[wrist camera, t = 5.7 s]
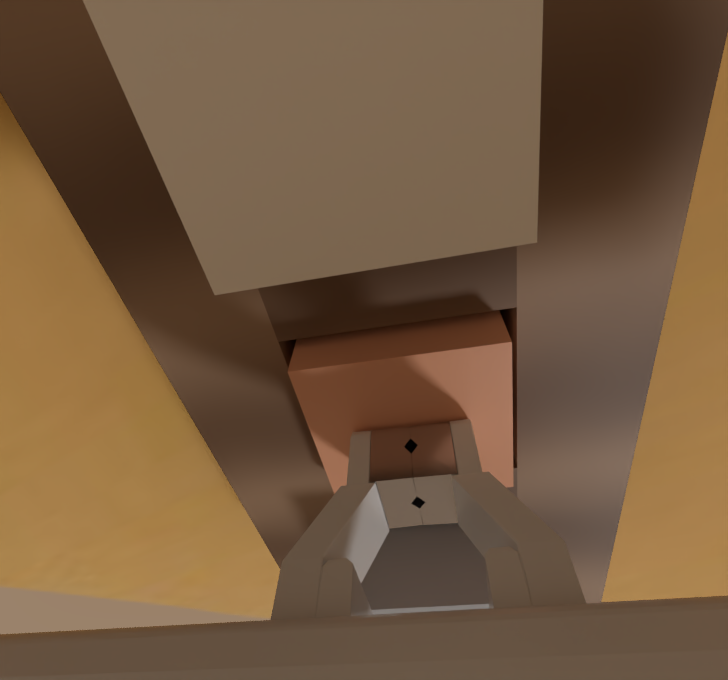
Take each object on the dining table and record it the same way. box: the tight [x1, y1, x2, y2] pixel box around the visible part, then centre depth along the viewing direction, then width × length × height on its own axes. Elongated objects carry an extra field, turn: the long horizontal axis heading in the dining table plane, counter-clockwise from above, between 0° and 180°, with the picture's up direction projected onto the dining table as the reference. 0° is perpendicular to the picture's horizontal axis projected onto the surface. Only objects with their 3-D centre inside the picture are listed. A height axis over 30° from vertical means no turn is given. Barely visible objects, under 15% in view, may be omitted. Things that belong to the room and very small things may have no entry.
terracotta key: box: [288, 310, 513, 494], centre depth 13 cm, size 5×5×4 cm
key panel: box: [0, 0, 728, 603], centre depth 14 cm, size 26×12×4 cm, turn 11°
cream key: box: [83, 0, 543, 295], centre depth 7 cm, size 5×5×4 cm
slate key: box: [361, 523, 489, 615], centre depth 16 cm, size 5×5×4 cm
